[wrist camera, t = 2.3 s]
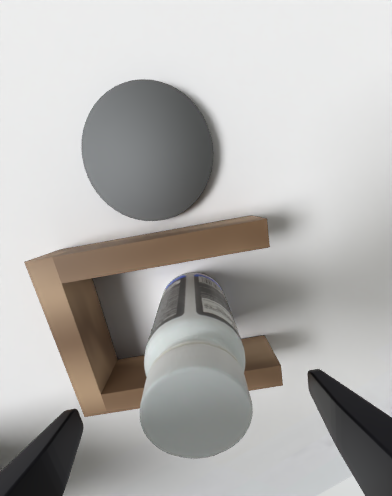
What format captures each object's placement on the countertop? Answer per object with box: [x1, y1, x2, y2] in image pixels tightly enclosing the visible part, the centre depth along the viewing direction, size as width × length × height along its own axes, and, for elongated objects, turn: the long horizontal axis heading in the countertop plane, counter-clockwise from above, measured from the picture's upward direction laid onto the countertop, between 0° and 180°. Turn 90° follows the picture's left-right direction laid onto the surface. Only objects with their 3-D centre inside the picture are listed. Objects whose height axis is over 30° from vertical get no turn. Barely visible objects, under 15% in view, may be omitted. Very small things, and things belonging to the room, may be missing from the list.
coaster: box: [82, 80, 213, 221], centre depth 12 cm, size 8×8×1 cm
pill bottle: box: [140, 273, 252, 458], centre depth 11 cm, size 5×5×8 cm
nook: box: [25, 216, 283, 417], centre depth 13 cm, size 11×14×3 cm
